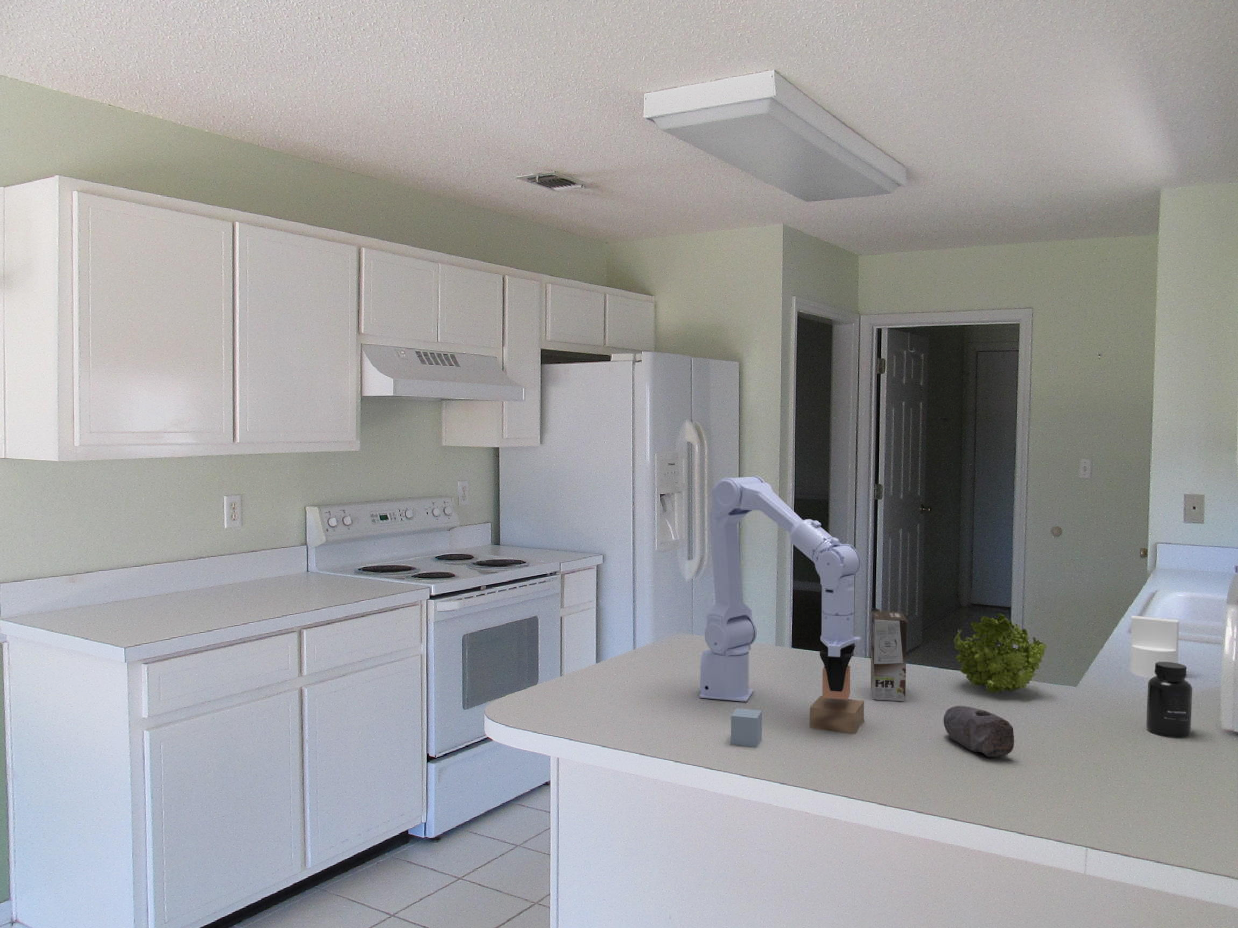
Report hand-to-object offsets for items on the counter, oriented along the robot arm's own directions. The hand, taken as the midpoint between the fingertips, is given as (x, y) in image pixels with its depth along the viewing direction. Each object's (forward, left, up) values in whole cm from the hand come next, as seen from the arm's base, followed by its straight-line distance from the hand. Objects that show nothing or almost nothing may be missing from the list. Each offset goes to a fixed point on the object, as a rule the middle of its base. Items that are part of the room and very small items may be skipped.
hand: (837, 686), depth 173 cm
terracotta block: (0, 0, -2) cm, 2 cm away
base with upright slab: (+62, +55, -7) cm, 83 cm away
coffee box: (+8, +22, -7) cm, 24 cm away
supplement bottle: (+56, +13, -7) cm, 58 cm away
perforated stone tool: (+23, -6, -7) cm, 25 cm away
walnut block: (0, 0, -7) cm, 7 cm away
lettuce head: (+28, +32, -7) cm, 43 cm away
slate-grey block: (-14, -14, -7) cm, 21 cm away
